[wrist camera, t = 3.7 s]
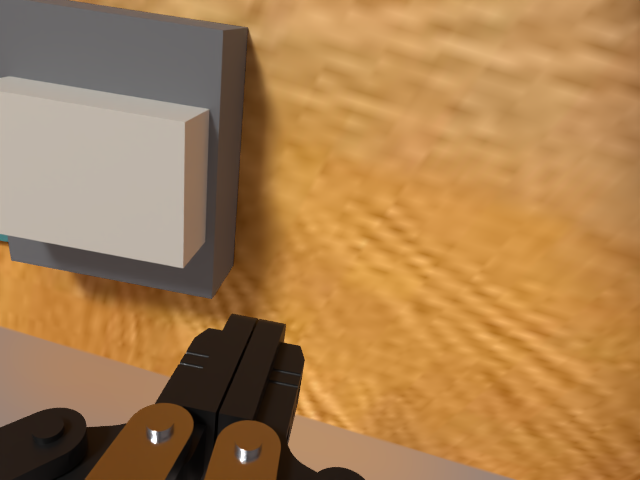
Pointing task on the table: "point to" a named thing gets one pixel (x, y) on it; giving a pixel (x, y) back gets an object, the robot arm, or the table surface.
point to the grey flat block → (144, 82)
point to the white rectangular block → (103, 171)
